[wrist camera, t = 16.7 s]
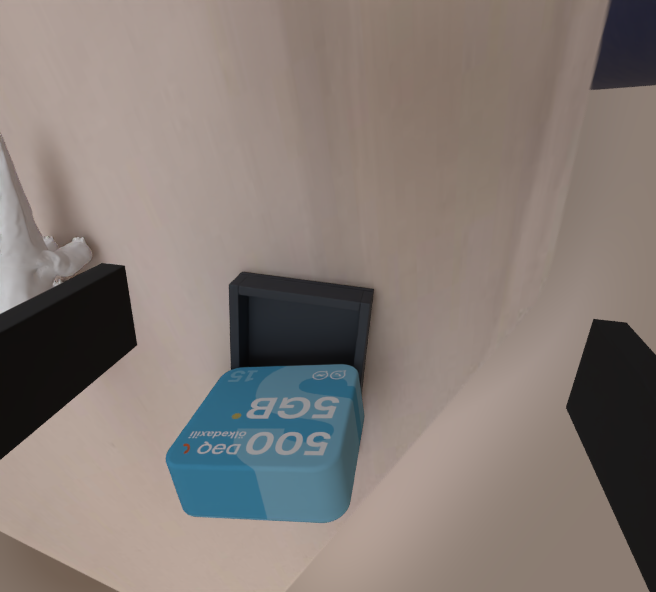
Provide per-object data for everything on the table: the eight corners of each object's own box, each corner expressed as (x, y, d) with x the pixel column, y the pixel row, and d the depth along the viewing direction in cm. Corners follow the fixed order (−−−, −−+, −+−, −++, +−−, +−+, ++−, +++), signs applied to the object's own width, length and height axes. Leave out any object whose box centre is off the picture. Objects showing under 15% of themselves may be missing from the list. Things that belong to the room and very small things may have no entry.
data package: (360, 362, 37) (337, 470, 26) (366, 407, 39) (347, 526, 28) (226, 366, 40) (154, 466, 29) (237, 408, 41) (173, 517, 30)
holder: (374, 288, 38) (370, 303, 35) (354, 450, 45) (350, 473, 42) (241, 271, 39) (228, 284, 36) (243, 430, 46) (232, 451, 43)
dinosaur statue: (74, 365, 47) (-19, 436, 37) (5, 120, 38) (-144, 126, 28) (133, 370, 46) (54, 445, 36) (77, 118, 36) (-52, 124, 26)
